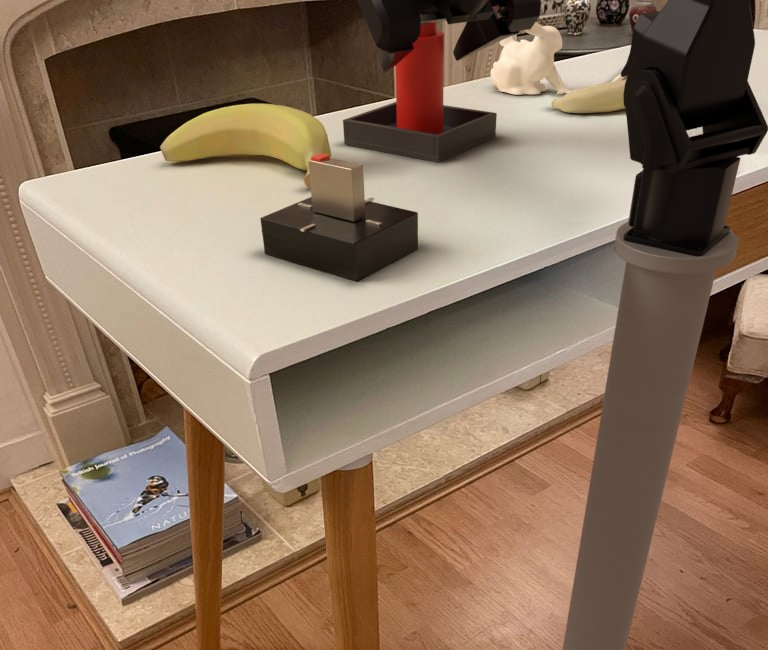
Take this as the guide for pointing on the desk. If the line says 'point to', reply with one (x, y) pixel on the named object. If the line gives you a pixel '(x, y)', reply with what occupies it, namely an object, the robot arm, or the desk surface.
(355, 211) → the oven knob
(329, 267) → the black rectangular block
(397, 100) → the ketchup bottle
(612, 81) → the pale wooden rod
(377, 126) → the tray
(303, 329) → the desk surface
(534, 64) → the rabbit figurine
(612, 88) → the fruit
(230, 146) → the banana
